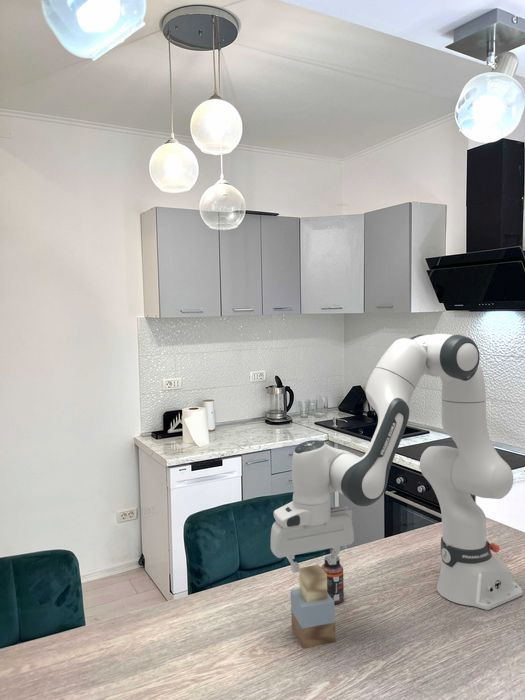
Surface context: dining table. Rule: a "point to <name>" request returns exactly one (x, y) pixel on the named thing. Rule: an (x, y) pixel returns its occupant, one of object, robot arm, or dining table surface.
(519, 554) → the dining table surface
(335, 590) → the supplement bottle
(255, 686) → the dining table surface
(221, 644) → the dining table surface
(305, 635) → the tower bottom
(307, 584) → the maple block
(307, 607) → the tower top
